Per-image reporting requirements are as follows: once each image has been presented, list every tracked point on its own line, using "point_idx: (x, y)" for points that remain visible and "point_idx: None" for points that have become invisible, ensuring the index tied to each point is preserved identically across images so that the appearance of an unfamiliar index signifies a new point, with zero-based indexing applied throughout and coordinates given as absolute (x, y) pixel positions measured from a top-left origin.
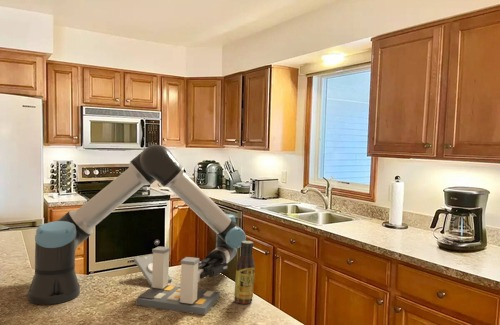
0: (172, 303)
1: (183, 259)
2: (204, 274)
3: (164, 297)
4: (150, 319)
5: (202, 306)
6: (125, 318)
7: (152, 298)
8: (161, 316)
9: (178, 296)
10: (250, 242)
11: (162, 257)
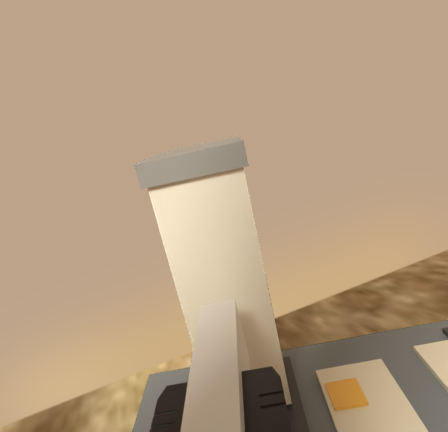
0: (315, 345)
1: (233, 138)
2: (155, 425)
3: (418, 373)
4: (332, 300)
5: (166, 382)
6: (406, 275)
7: (442, 328)
8: (316, 323)
9: (338, 395)
10: None
11: None
